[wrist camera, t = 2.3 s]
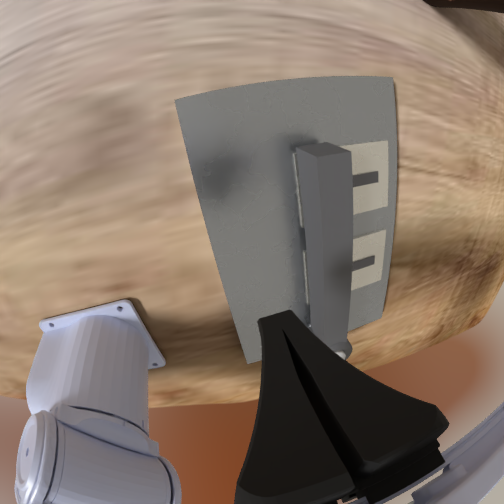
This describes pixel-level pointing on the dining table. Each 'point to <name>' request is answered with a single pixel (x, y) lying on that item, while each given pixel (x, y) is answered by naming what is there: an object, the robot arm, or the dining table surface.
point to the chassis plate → (290, 189)
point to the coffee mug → (470, 4)
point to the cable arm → (328, 239)
